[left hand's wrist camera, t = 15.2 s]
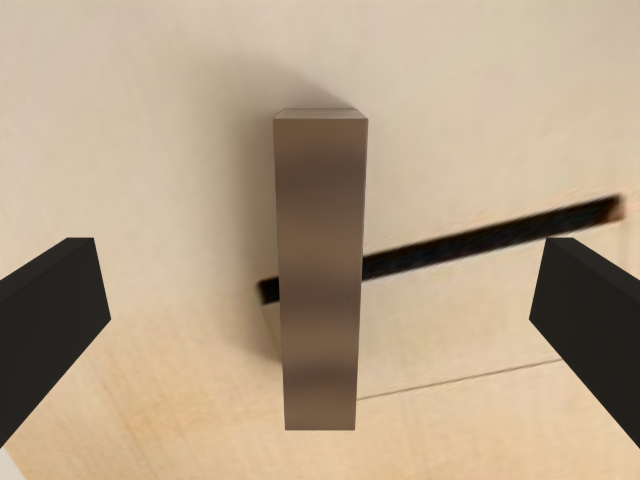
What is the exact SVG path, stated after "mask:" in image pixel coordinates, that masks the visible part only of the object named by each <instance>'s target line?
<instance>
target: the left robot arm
mask: <svg viewBox="0 0 640 480" xmlns="http://www.w3.org/2000/svg"><path fill="white" fill-rule="evenodd" d="M110 320H111V316H110V312H109V307H108V302H107V298H106V293H105V288H104V284H103V279H102V274H101V270H100V265H99V260H98V256H97V251H96V246H95V242H94V238H66V239H64V240H63V241H61V242H60V243H58V244H56V245H55V246H53V247H52V248H50V249H49V250H47V251H45V252H44V253H42V254H41V255H39V256H38V257H36V258H35V259H33V260H31V261H30V262H28V263H27V264H25V265H24V266H22V267H20V268H19V269H17V270H16V271H14V272H13V273H11V274H10V275H8V276H6V277H5V278H3V279H2V280H0V448H1V447H2V446H3V445H4V444H5V443H6V441H7V440H8V439H9V438H10V437H11V436H12V434H13V433H14V432H15V431H16V430H17V429H18V427H19V426H20V425H21V424H22V423H23V422H24V420H25V419H26V418H27V417H28V416H29V415H30V413H31V412H32V411H33V410H34V409H35V408H36V406H37V405H38V404H39V403H40V402H41V401H42V399H43V398H44V397H45V396H46V395H47V394H48V392H49V391H50V390H51V389H52V388H53V387H54V385H55V384H56V383H57V382H58V381H59V380H60V378H61V377H62V376H63V375H64V374H65V373H66V371H67V370H68V369H69V368H70V367H71V366H72V364H73V363H74V362H75V361H76V360H77V359H78V357H79V356H80V355H81V354H82V353H83V352H84V350H85V349H86V348H87V347H88V346H89V345H90V343H91V342H92V341H93V340H94V339H95V338H96V337H97V335H98V334H99V333H100V332H101V331H102V330H103V328H104V327H105V326H106V325H107V324H108V323H109V321H110ZM529 320H530V321H531V323H532V324H533V325H534V326H535V327H536V328H537V330H538V331H539V332H540V333H541V334H542V335H543V337H544V338H545V339H546V340H547V341H548V342H549V344H550V345H551V346H552V347H553V348H554V349H555V350H556V352H557V353H558V354H559V355H560V356H561V357H562V359H563V360H564V361H565V362H566V363H567V364H568V366H569V367H570V368H571V369H572V370H573V371H574V373H575V374H576V375H577V376H578V377H579V378H580V380H581V381H582V382H583V383H584V384H585V385H586V387H587V388H588V389H589V390H590V391H591V392H592V394H593V395H594V396H595V397H596V398H597V399H598V401H599V402H600V403H601V404H602V405H603V406H604V408H605V409H606V410H607V411H608V412H609V413H610V415H611V416H612V417H613V418H614V419H615V420H616V422H617V423H618V424H619V425H620V426H621V427H622V429H623V430H624V431H625V432H626V433H627V434H628V436H629V437H630V438H631V439H632V440H633V441H634V443H635V444H636V445H637V446H638V447H639V448H640V280H638V279H637V278H635V277H634V276H632V275H630V274H629V273H627V272H626V271H624V270H623V269H621V268H620V267H618V266H616V265H615V264H613V263H612V262H610V261H609V260H607V259H605V258H604V257H602V256H601V255H599V254H598V253H596V252H595V251H593V250H591V249H590V248H588V247H587V246H585V245H584V244H582V243H580V242H579V241H577V240H576V239H574V238H546V242H545V246H544V251H543V256H542V260H541V265H540V270H539V274H538V279H537V284H536V288H535V293H534V298H533V302H532V307H531V312H530V316H529Z"/></svg>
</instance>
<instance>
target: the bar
mask: <svg viewBox="0 0 640 480" xmlns="http://www.w3.org/2000/svg"><path fill="white" fill-rule="evenodd" d="M273 132H274V158H275V184H276V210H277V236H278V262H279V288H280V313H281V339H282V365H283V391H284V417H285V430H355V418H356V394H357V371H358V348H359V324H360V301H361V277H362V254H363V230H364V207H365V183H366V160H367V137H368V119H367V118H366V117H365V116H364V115H363V114H362V113H361V112H360V111H359V110H357V109H283V110H282V111H281V112H280V113H279V114H278V115H277V116H276V117H275V118H274V119H273Z"/></svg>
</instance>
